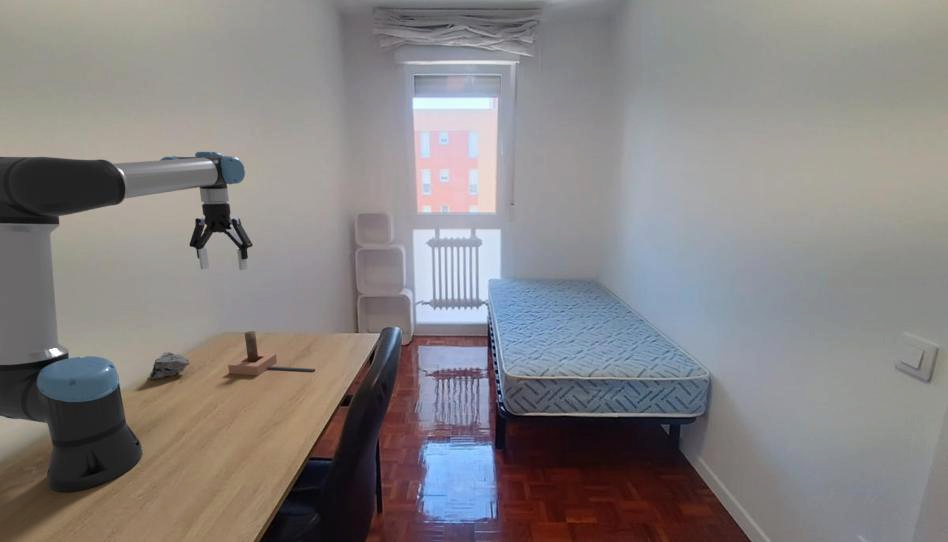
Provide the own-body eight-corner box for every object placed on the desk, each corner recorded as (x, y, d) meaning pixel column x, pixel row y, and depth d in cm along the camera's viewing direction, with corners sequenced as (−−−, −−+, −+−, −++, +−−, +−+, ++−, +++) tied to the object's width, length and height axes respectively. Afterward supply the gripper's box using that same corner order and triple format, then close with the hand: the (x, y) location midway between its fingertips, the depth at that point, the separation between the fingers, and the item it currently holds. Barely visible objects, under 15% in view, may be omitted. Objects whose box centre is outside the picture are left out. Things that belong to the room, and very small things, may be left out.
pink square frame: (258, 375, 134) (257, 366, 133) (229, 373, 135) (228, 364, 134) (276, 362, 144) (275, 353, 143) (249, 360, 145) (248, 352, 144)
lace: (313, 371, 136) (313, 369, 136) (267, 369, 138) (267, 367, 138) (315, 370, 137) (315, 368, 137) (268, 368, 139) (268, 366, 139)
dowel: (255, 369, 138) (251, 334, 135) (246, 369, 138) (242, 334, 136) (261, 365, 141) (257, 331, 138) (252, 365, 141) (248, 331, 139)
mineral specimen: (172, 386, 138) (164, 391, 129) (149, 372, 136) (138, 376, 127) (195, 360, 141) (188, 363, 132) (172, 346, 139) (164, 348, 130)
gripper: (259, 202, 136) (266, 267, 141) (188, 202, 140) (197, 265, 144) (244, 203, 129) (252, 272, 134) (170, 203, 132) (180, 270, 137)
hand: (224, 268), depth 139 cm, fingers open, 13 cm apart
